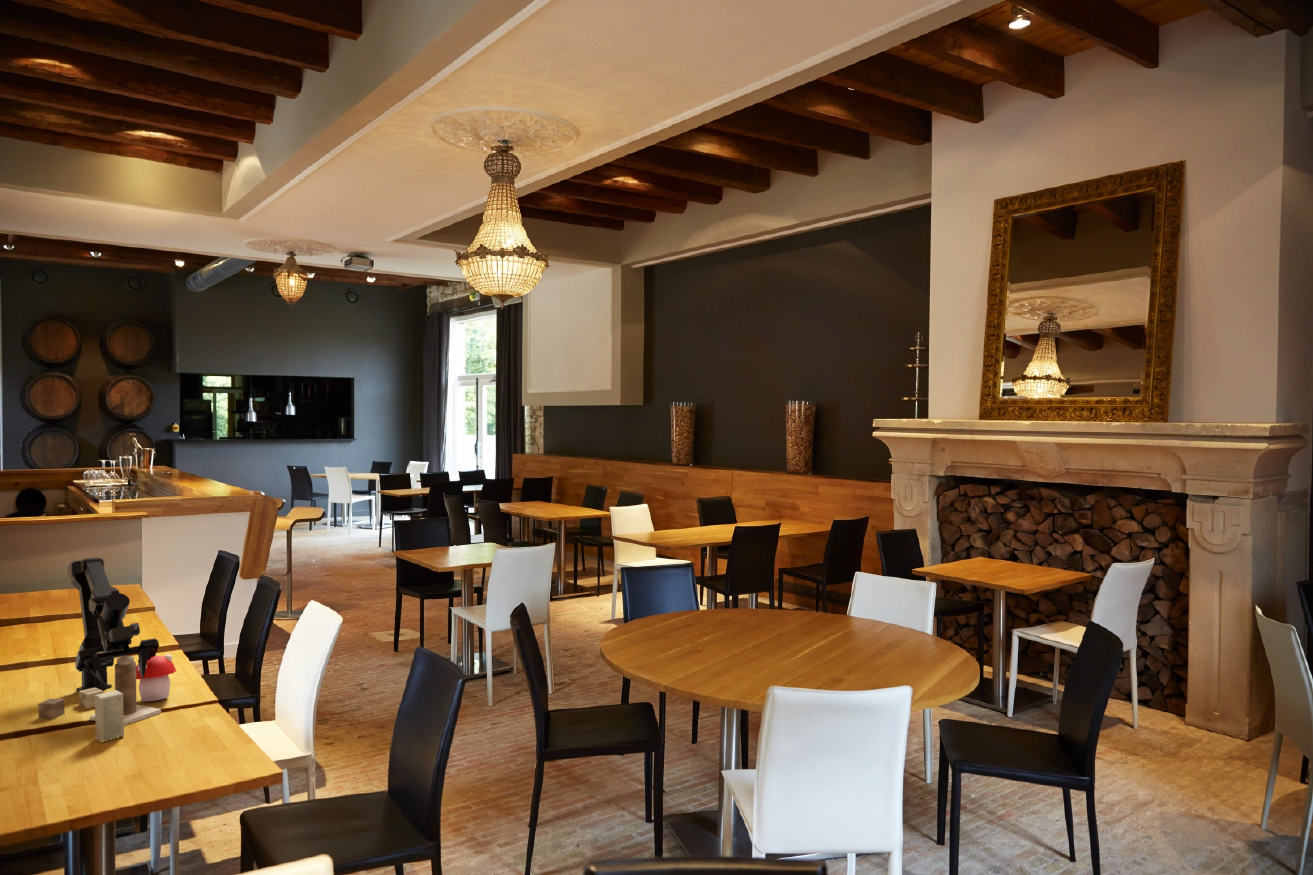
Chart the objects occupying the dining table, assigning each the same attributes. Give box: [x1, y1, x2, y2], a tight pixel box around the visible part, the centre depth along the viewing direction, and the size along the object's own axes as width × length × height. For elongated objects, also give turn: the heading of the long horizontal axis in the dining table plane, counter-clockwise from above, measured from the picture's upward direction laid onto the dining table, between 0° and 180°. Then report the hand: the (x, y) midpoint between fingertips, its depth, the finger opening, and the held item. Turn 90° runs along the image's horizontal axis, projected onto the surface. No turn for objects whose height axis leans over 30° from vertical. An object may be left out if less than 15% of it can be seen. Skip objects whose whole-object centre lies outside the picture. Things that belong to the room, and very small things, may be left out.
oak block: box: [78, 688, 104, 709], centre depth 235 cm, size 5×4×4 cm
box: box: [94, 689, 125, 742], centre depth 211 cm, size 5×4×11 cm
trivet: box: [89, 704, 162, 726], centre depth 227 cm, size 12×11×1 cm
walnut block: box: [38, 698, 65, 720], centre depth 227 cm, size 4×4×4 cm
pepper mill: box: [114, 655, 137, 715], centre depth 227 cm, size 5×5×14 cm
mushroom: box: [136, 653, 177, 703], centre depth 241 cm, size 11×11×12 cm
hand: (124, 680), depth 228 cm, fingers open, 9 cm apart
